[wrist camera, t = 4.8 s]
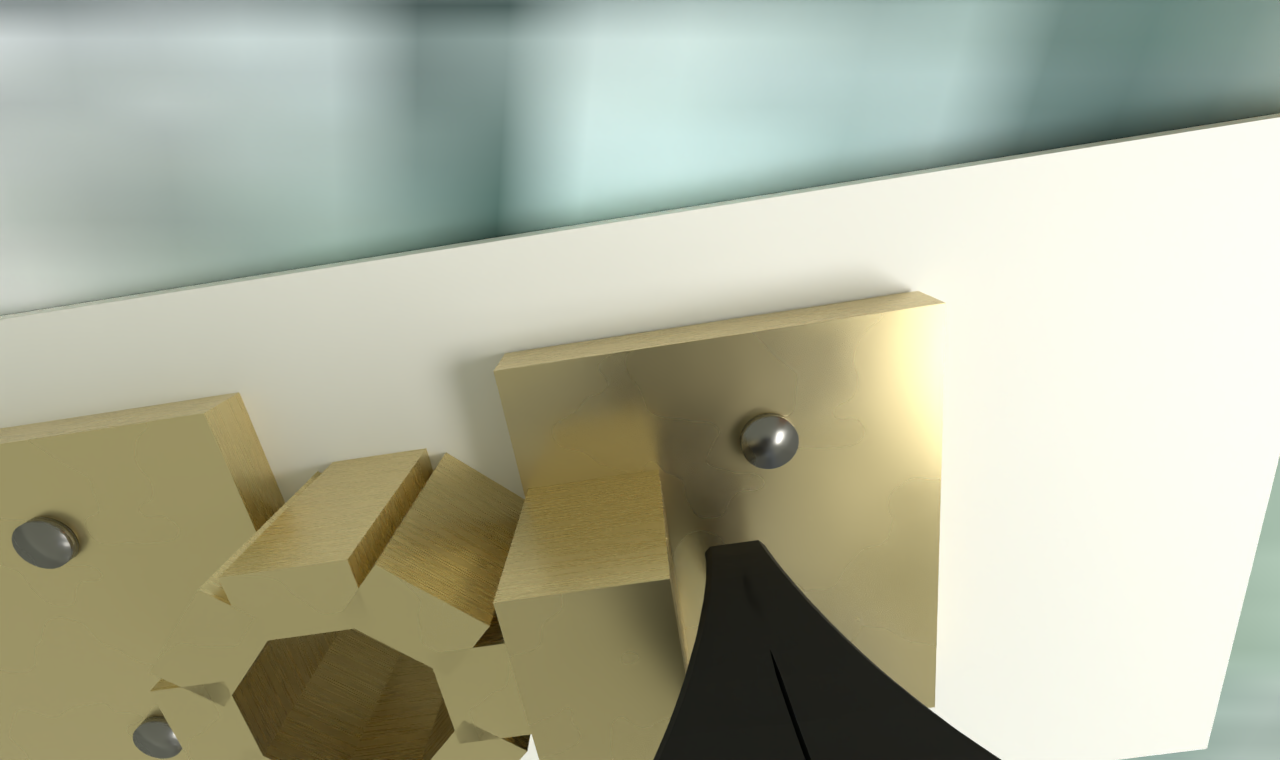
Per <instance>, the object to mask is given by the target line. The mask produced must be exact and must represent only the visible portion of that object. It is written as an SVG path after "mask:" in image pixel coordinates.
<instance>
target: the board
mask: <svg viewBox="0 0 1280 760" xmlns="http://www.w3.org/2000/svg"><path fill="white" fill-rule="evenodd" d="M913 291H920V292H922V293H924V294H927V295H929V296H931V297H934V298H936V299H938V300H940V301H943V302H945V303H946V325H945V361H944V397H943V433H942V469H941V506H940V542H939V578H938V614H937V650H936V686H935V707H932V708H929V709H930V710H932V711H933V712H934V713H935V714H937V715H938V716H939V717H941V718H942V719H943V720H945V721H946V722H947V723H949V724H950V725H951V726H953V727H954V728H955V729H957V730H958V731H960V732H961V733H963V734H964V735H966V736H967V737H968V738H970V739H971V740H973V741H974V742H976V743H977V744H979V745H980V746H982V747H983V748H985V749H986V750H988V751H989V752H991V753H992V754H994V755H995V756H997V757H998V758H999V759H1001V760H1119V759H1127V758H1135V757H1143V756H1151V755H1159V754H1167V753H1175V752H1183V751H1192V750H1200V749H1207V746H1208V742H1209V738H1210V734H1211V730H1212V726H1213V722H1214V718H1215V714H1216V710H1217V706H1218V702H1219V698H1220V694H1221V690H1222V686H1223V681H1224V677H1225V673H1226V669H1227V665H1228V661H1229V657H1230V653H1231V649H1232V645H1233V641H1234V637H1235V633H1236V629H1237V625H1238V621H1239V617H1240V613H1241V609H1242V605H1243V601H1244V597H1245V593H1246V589H1247V585H1248V581H1249V577H1250V573H1251V569H1252V565H1253V561H1254V557H1255V553H1256V549H1257V545H1258V540H1259V536H1260V532H1261V528H1262V524H1263V520H1264V516H1265V512H1266V508H1267V504H1268V500H1269V496H1270V492H1271V488H1272V484H1273V480H1274V476H1275V472H1276V468H1277V464H1278V460H1279V456H1280V113H1278V114H1272V115H1266V116H1259V117H1253V118H1247V119H1240V120H1234V121H1228V122H1221V123H1215V124H1209V125H1202V126H1196V127H1190V128H1184V129H1177V130H1171V131H1165V132H1158V133H1152V134H1146V135H1139V136H1133V137H1127V138H1120V139H1114V140H1108V141H1102V142H1095V143H1089V144H1083V145H1076V146H1070V147H1064V148H1057V149H1051V150H1045V151H1038V152H1032V153H1026V154H1019V155H1013V156H1007V157H1001V158H994V159H988V160H982V161H975V162H969V163H963V164H956V165H950V166H944V167H937V168H931V169H925V170H918V171H912V172H906V173H900V174H893V175H887V176H881V177H874V178H868V179H862V180H855V181H849V182H843V183H836V184H830V185H824V186H818V187H811V188H805V189H799V190H792V191H786V192H780V193H773V194H767V195H761V196H754V197H748V198H742V199H735V200H729V201H723V202H717V203H710V204H704V205H698V206H691V207H685V208H679V209H672V210H666V211H660V212H653V213H647V214H641V215H634V216H628V217H622V218H616V219H609V220H603V221H597V222H590V223H584V224H578V225H571V226H565V227H559V228H552V229H546V230H540V231H534V232H527V233H521V234H515V235H508V236H502V237H496V238H489V239H483V240H477V241H470V242H464V243H458V244H451V245H445V246H439V247H433V248H426V249H420V250H414V251H407V252H401V253H395V254H388V255H382V256H376V257H369V258H363V259H357V260H351V261H344V262H338V263H332V264H325V265H319V266H313V267H306V268H300V269H294V270H287V271H281V272H275V273H268V274H262V275H256V276H250V277H243V278H237V279H231V280H224V281H218V282H212V283H205V284H199V285H193V286H186V287H180V288H174V289H167V290H161V291H155V292H149V293H142V294H136V295H130V296H123V297H117V298H111V299H104V300H98V301H92V302H85V303H79V304H73V305H67V306H60V307H54V308H48V309H41V310H35V311H29V312H22V313H16V314H10V315H3V316H0V429H1V428H7V427H14V426H20V425H27V424H34V423H40V422H47V421H53V420H60V419H66V418H73V417H80V416H86V415H93V414H99V413H106V412H113V411H119V410H126V409H132V408H139V407H146V406H152V405H159V404H165V403H172V402H179V401H185V400H192V399H198V398H205V397H211V396H218V395H225V394H231V393H238V392H239V393H240V395H241V398H242V400H243V402H244V405H245V407H246V410H247V412H248V414H249V417H250V419H251V422H252V424H253V427H254V429H255V431H256V434H257V436H258V439H259V441H260V443H261V446H262V448H263V451H264V453H265V456H266V458H267V460H268V463H269V465H270V468H271V470H272V472H273V475H274V477H275V480H276V482H277V485H278V487H279V489H280V492H281V494H282V497H283V499H284V501H285V503H286V502H287V501H288V500H289V499H290V498H291V497H292V496H293V495H294V494H295V493H296V492H297V491H298V490H299V489H300V488H301V487H302V486H303V485H304V484H305V483H306V482H307V481H308V480H309V479H310V478H311V477H312V476H313V475H314V474H315V473H316V472H317V471H319V472H320V473H322V472H323V471H324V470H325V469H326V468H327V467H328V466H329V465H330V464H331V463H332V462H336V461H343V460H349V459H356V458H363V457H370V456H377V455H384V454H390V453H397V452H404V451H411V450H418V449H424V448H426V449H427V452H428V455H429V458H430V462H431V465H432V468H433V470H434V469H435V467H436V466H437V465H438V463H439V462H440V460H441V459H442V457H443V456H444V455H445V453H448V454H450V455H451V456H453V457H455V458H456V459H458V460H460V461H461V462H463V463H465V464H466V465H468V466H470V467H471V468H473V469H475V470H476V471H478V472H480V473H481V474H483V475H485V476H486V477H488V478H490V479H491V480H493V481H495V482H497V483H498V484H500V485H502V486H503V487H505V488H507V489H508V490H510V491H512V492H513V493H515V494H517V495H518V496H520V497H522V498H523V499H525V495H524V491H523V487H522V483H521V479H520V475H519V471H518V467H517V463H516V459H515V455H514V451H513V447H512V443H511V439H510V435H509V431H508V427H507V423H506V419H505V415H504V411H503V407H502V403H501V399H500V395H499V391H498V387H497V384H496V380H495V376H494V372H493V371H494V370H495V368H496V366H497V365H498V363H499V362H500V360H501V359H502V357H503V356H504V354H505V353H511V352H518V351H524V350H531V349H537V348H544V347H551V346H557V345H564V344H570V343H577V342H584V341H590V340H597V339H603V338H610V337H617V336H623V335H630V334H636V333H643V332H650V331H656V330H663V329H669V328H676V327H683V326H689V325H696V324H702V323H709V322H715V321H722V320H729V319H735V318H742V317H748V316H755V315H762V314H768V313H775V312H781V311H788V310H795V309H801V308H808V307H814V306H821V305H828V304H834V303H841V302H847V301H854V300H861V299H867V298H874V297H880V296H887V295H894V294H900V293H907V292H913ZM520 760H539V758H538V754H537V751H536V747H535V744H534V740H533V737H532V734H531V735H530V739H529V745H528V751H527V752H526V753H525V755H524V756H523V757H522V758H521V759H520Z"/></svg>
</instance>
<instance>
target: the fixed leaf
mask: <svg viewBox="0 0 1280 760" xmlns="http://www.w3.org/2000/svg"><path fill="white" fill-rule="evenodd" d="M524 501H525V499H523V498H522V497H520V496H518V495H517V494H515V493H513V492H512V491H510V490H508V489H507V488H505V487H503V486H502V485H500V484H498V483H497V482H495V481H493V480H491V479H490V478H488V477H486V476H485V475H483V474H481V473H480V472H478V471H476V470H475V469H473V468H471V467H470V466H468V465H466V464H465V463H463V462H461V461H460V460H458V459H456V458H455V457H453V456H451V455H450V454H448V453H445V455H444V456H443V457H442V459H441V460H440V462H439V463H438V465H437V466H436V467H435V469H434V470H433V468H432V465H431V462H430V458H429V455H428V452H427V449H426V448H424V449H418V450H411V451H404V452H397V453H390V454H384V455H377V456H370V457H363V458H356V459H349V460H343V461H336V462H332V463H331V464H330V465H329V466H328V467H327V468H326V469H325V470H324V471H323V472H322V473H320V472H319V471H317V472H316V473H315V474H314V475H313V476H312V477H311V478H310V479H309V480H308V481H307V482H306V483H305V484H304V485H303V486H302V487H301V488H300V489H299V490H298V491H297V492H296V493H295V494H294V495H293V496H292V497H291V498H290V499H289V500H288V501H287V502H286V503H285V501H284V499H283V497H282V494H281V492H280V489H279V487H278V485H277V482H276V480H275V477H274V475H273V472H272V470H271V468H270V465H269V463H268V460H267V458H266V456H265V453H264V451H263V448H262V446H261V443H260V441H259V439H258V436H257V434H256V431H255V429H254V427H253V424H252V422H251V419H250V417H249V414H248V412H247V410H246V407H245V405H244V402H243V400H242V398H241V395H240V393H239V392H238V393H231V394H225V395H218V396H211V397H205V398H198V399H192V400H185V401H179V402H172V403H165V404H159V405H152V406H146V407H139V408H132V409H126V410H119V411H113V412H106V413H99V414H93V415H86V416H80V417H73V418H66V419H60V420H53V421H47V422H40V423H34V424H27V425H20V426H14V427H7V428H1V429H0V760H520V759H521V758H522V757H523V756H524V755H525V753H526V752H527V751H528V745H529V739H530V735H531V730H530V727H529V723H528V720H527V717H526V713H525V710H524V706H523V703H522V700H521V696H520V693H519V689H518V686H517V683H516V679H515V676H514V672H513V669H512V666H511V662H510V659H509V655H508V652H507V649H506V645H505V642H504V638H503V635H502V632H501V628H500V625H499V621H498V618H497V614H496V611H495V608H494V604H493V602H494V599H495V595H496V592H497V589H498V586H499V582H500V579H501V576H502V573H503V569H504V566H505V563H506V560H507V556H508V553H509V550H510V547H511V543H512V540H513V537H514V533H515V530H516V527H517V524H518V520H519V517H520V514H521V511H522V507H523V504H524Z"/></svg>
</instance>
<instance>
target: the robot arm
mask: <svg viewBox="0 0 1280 760" xmlns="http://www.w3.org/2000/svg"><path fill="white" fill-rule="evenodd" d="M705 558H706V583H705V591H704V599H703V605H702V610H701V615H700V620H699V625H698V630H697V635H696V639H695V643H694V646H693V650H692V653H691V657H690V661H689V664H688V668H687V671H686V675H685V678H684V681H683V684H682V688H681V691H680V694H679V696H678V699H677V702H676V705H675V708H674V710H673V713H672V716H671V718H670V721H669V724H668V726H667V729H666V731H665V734H664V736H663V738H662V741H661V743H660V745H659V748H658V750H657V752H656V755H655V757H654V759H653V760H1001V759H999V758H998V757H997V756H995V755H994V754H992V753H991V752H989V751H988V750H986V749H985V748H983V747H982V746H980V745H979V744H977V743H976V742H974V741H973V740H971V739H970V738H968V737H967V736H966V735H964V734H963V733H961V732H960V731H958V730H957V729H955V728H954V727H953V726H951V725H950V724H949V723H947V722H946V721H945V720H943V719H942V718H941V717H939V716H938V715H937V714H935V713H934V712H933V711H932V710H930V709H929V708H928V707H926V706H925V705H924V704H922V703H921V702H920V701H918V700H917V699H916V698H915V697H913V696H912V695H911V694H910V693H909V692H907V691H906V690H905V689H904V688H902V687H901V686H900V685H899V684H897V683H896V682H895V681H894V680H893V679H891V678H890V677H889V676H888V675H887V674H886V673H884V672H883V671H882V670H881V669H880V668H879V667H878V666H876V665H875V664H874V663H873V662H872V661H871V660H870V659H869V658H867V657H866V656H865V655H864V654H863V653H862V652H861V651H860V650H859V649H858V648H857V647H856V646H855V645H854V644H852V643H851V642H850V641H849V640H848V639H847V638H846V637H845V636H844V635H843V634H842V633H841V632H840V631H839V630H838V629H837V628H836V627H835V626H834V625H833V624H832V623H831V622H830V621H829V620H828V619H827V618H826V617H825V616H824V615H823V614H822V613H821V612H820V610H819V609H818V608H817V607H816V606H815V605H814V604H813V603H812V602H811V601H810V600H809V599H808V598H807V597H806V596H805V594H804V593H803V592H802V591H801V590H800V589H799V588H798V587H797V585H796V584H795V583H794V582H793V581H792V579H791V578H790V577H789V576H788V575H787V574H786V572H785V571H784V570H783V569H782V567H781V566H780V565H779V564H778V562H777V561H776V560H775V558H774V557H773V556H772V554H771V553H770V552H769V550H768V549H767V547H766V546H765V545H764V544H763V543H762V542H760V541H759V540H754V541H747V542H739V543H732V544H725V545H718V546H711V547H710V548H709V549H708V550H707V551H706V552H705Z"/></svg>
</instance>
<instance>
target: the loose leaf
mask: <svg viewBox="0 0 1280 760" xmlns="http://www.w3.org/2000/svg"><path fill="white" fill-rule="evenodd" d="M945 325H946V303H945V302H943V301H940V300H938V299H936V298H934V297H931V296H929V295H927V294H924V293H922V292H920V291H913V292H907V293H900V294H894V295H887V296H880V297H874V298H867V299H861V300H854V301H847V302H841V303H834V304H828V305H821V306H814V307H808V308H801V309H795V310H788V311H781V312H775V313H768V314H762V315H755V316H748V317H742V318H735V319H729V320H722V321H715V322H709V323H702V324H696V325H689V326H683V327H676V328H669V329H663V330H656V331H650V332H643V333H636V334H630V335H623V336H617V337H610V338H603V339H597V340H590V341H584V342H577V343H570V344H564V345H557V346H551V347H544V348H537V349H531V350H524V351H518V352H511V353H505V354H504V356H503V357H502V359H501V360H500V362H499V363H498V365H497V366H496V368H495V370H494V371H493V372H494V376H495V380H496V384H497V387H498V391H499V395H500V399H501V403H502V407H503V411H504V415H505V419H506V423H507V427H508V431H509V435H510V439H511V443H512V447H513V451H514V455H515V459H516V463H517V467H518V471H519V475H520V479H521V483H522V487H523V491H524V495H525V501H524V504H523V507H522V511H521V514H520V517H519V520H518V524H517V527H516V530H515V533H514V537H513V540H512V543H511V547H510V550H509V553H508V556H507V560H506V563H505V566H504V569H503V573H502V576H501V579H500V582H499V586H498V589H497V592H496V595H495V599H494V602H493V604H494V608H495V611H496V614H497V618H498V621H499V625H500V628H501V632H502V635H503V638H504V642H505V645H506V649H507V652H508V655H509V659H510V662H511V666H512V669H513V672H514V676H515V679H516V683H517V686H518V689H519V693H520V696H521V700H522V703H523V706H524V710H525V713H526V717H527V720H528V723H529V727H530V730H531V734H532V737H533V740H534V744H535V747H536V751H537V754H538V758H539V760H653V759H654V757H655V755H656V752H657V750H658V748H659V745H660V743H661V741H662V738H663V736H664V734H665V731H666V729H667V726H668V724H669V721H670V718H671V716H672V713H673V710H674V708H675V705H676V702H677V699H678V696H679V694H680V691H681V688H682V684H683V681H684V678H685V675H686V671H687V668H688V664H689V661H690V657H691V653H692V650H693V646H694V643H695V639H696V635H697V630H698V625H699V620H700V615H701V610H702V605H703V599H704V591H705V583H706V558H705V552H706V551H707V550H708V549H709V548H710V547H711V546H718V545H725V544H732V543H739V542H747V541H754V540H759V541H760V542H762V543H763V544H764V545H765V546H766V547H767V549H768V550H769V552H770V553H771V554H772V556H773V557H774V558H775V560H776V561H777V562H778V564H779V565H780V566H781V567H782V569H783V570H784V571H785V572H786V574H787V575H788V576H789V577H790V578H791V579H792V581H793V582H794V583H795V584H796V585H797V587H798V588H799V589H800V590H801V591H802V592H803V593H804V594H805V596H806V597H807V598H808V599H809V600H810V601H811V602H812V603H813V604H814V605H815V606H816V607H817V608H818V609H819V610H820V612H821V613H822V614H823V615H824V616H825V617H826V618H827V619H828V620H829V621H830V622H831V623H832V624H833V625H834V626H835V627H836V628H837V629H838V630H839V631H840V632H841V633H842V634H843V635H844V636H845V637H846V638H847V639H848V640H849V641H850V642H851V643H852V644H854V645H855V646H856V647H857V648H858V649H859V650H860V651H861V652H862V653H863V654H864V655H865V656H866V657H867V658H869V659H870V660H871V661H872V662H873V663H874V664H875V665H876V666H878V667H879V668H880V669H881V670H882V671H883V672H884V673H886V674H887V675H888V676H889V677H890V678H891V679H893V680H894V681H895V682H896V683H897V684H899V685H900V686H901V687H902V688H904V689H905V690H906V691H907V692H909V693H910V694H911V695H912V696H913V697H915V698H916V699H917V700H918V701H920V702H921V703H922V704H924V705H925V706H926V707H928V708H932V707H935V686H936V650H937V614H938V578H939V542H940V506H941V469H942V433H943V397H944V361H945Z"/></svg>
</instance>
